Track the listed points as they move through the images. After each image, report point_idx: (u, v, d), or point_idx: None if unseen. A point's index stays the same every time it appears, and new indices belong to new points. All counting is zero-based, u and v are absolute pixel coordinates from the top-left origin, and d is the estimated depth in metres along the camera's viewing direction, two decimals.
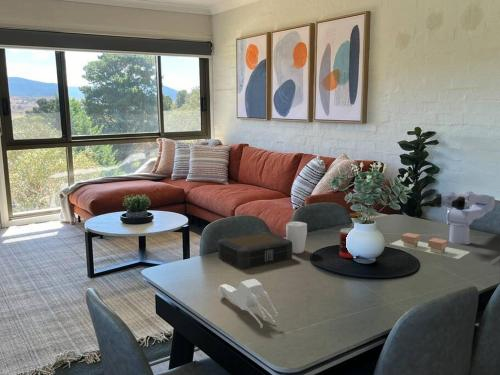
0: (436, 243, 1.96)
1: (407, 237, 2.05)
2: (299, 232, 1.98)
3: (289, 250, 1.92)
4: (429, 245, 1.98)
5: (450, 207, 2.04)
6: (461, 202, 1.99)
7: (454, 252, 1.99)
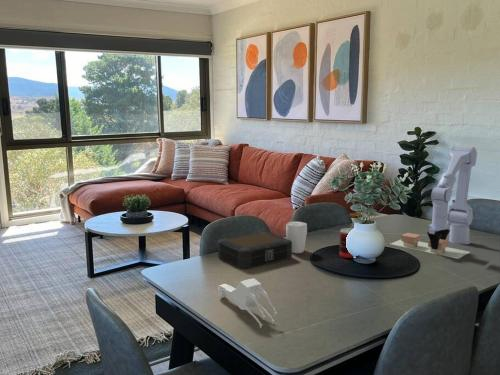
0: None
1: (407, 237, 2.05)
2: (299, 232, 1.98)
3: (289, 249, 1.93)
4: (429, 245, 1.98)
5: (445, 229, 1.96)
6: None
7: (454, 252, 1.99)
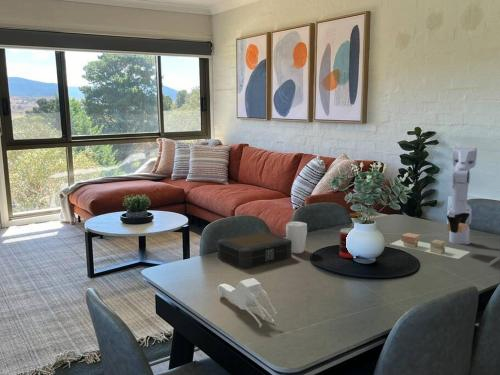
0: None
1: (407, 237, 2.05)
2: (299, 232, 1.98)
3: (289, 249, 1.93)
4: (448, 229, 1.98)
5: (464, 212, 1.95)
6: None
7: (454, 252, 1.99)
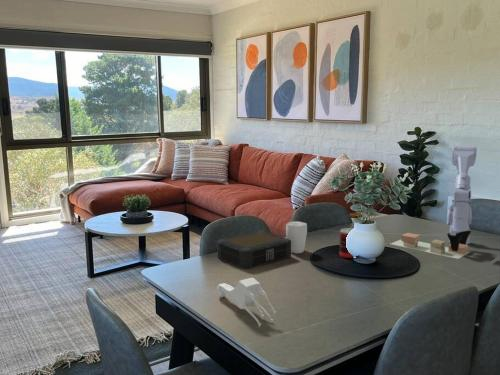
0: None
1: (407, 237, 2.05)
2: (299, 232, 1.98)
3: (288, 249, 1.94)
4: (449, 250, 1.99)
5: (465, 230, 1.96)
6: None
7: None
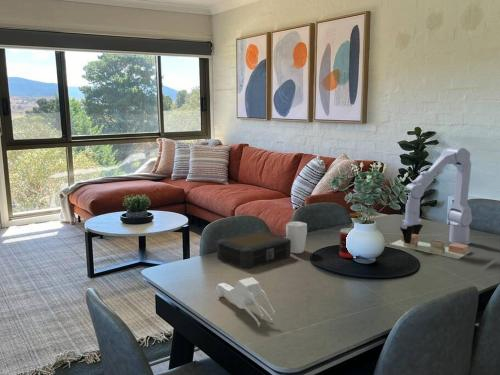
0: (457, 248, 1.97)
1: None
2: (299, 232, 1.98)
3: (288, 248, 1.95)
4: (449, 250, 1.99)
5: (417, 224, 2.04)
6: None
7: None
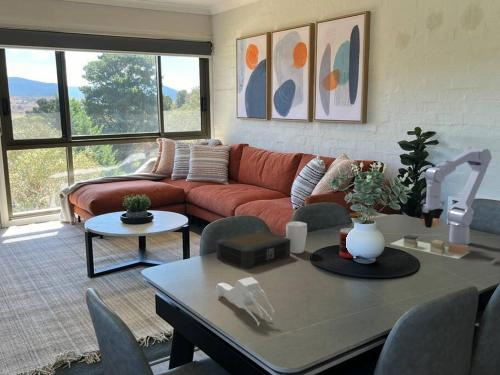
0: (457, 248, 1.97)
1: None
2: (299, 232, 1.98)
3: (288, 248, 1.95)
4: (449, 250, 1.99)
5: (438, 208, 2.03)
6: None
7: None
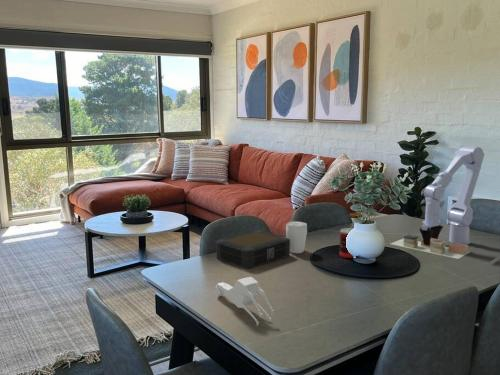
0: (457, 248, 1.97)
1: None
2: (299, 232, 1.98)
3: (287, 247, 1.96)
4: (449, 250, 1.99)
5: (437, 225, 2.05)
6: None
7: None
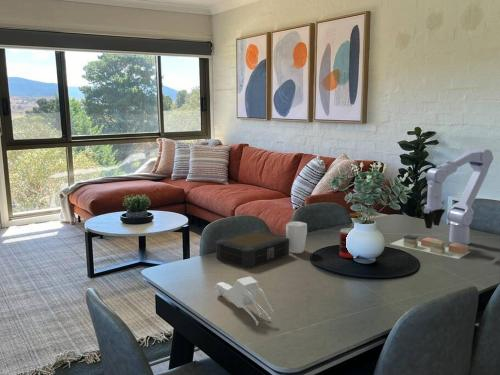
0: (457, 248, 1.97)
1: (427, 242, 2.06)
2: (299, 232, 1.98)
3: (287, 247, 1.96)
4: (449, 250, 1.99)
5: (439, 208, 2.04)
6: None
7: None
